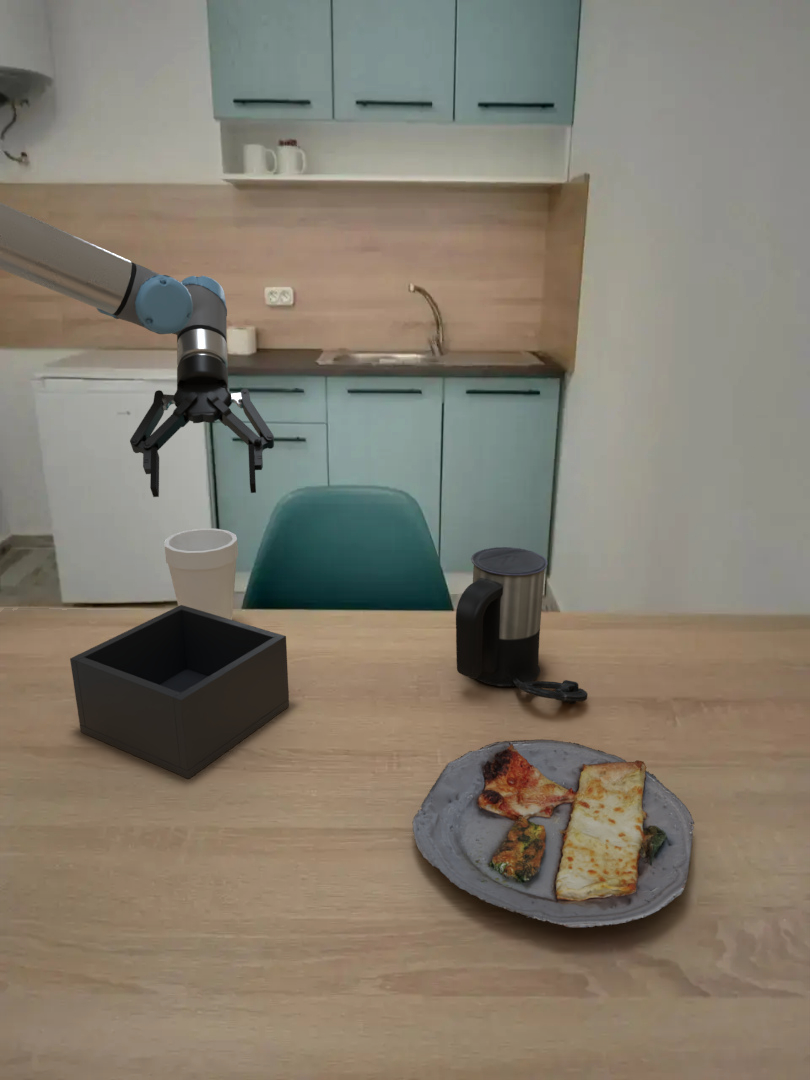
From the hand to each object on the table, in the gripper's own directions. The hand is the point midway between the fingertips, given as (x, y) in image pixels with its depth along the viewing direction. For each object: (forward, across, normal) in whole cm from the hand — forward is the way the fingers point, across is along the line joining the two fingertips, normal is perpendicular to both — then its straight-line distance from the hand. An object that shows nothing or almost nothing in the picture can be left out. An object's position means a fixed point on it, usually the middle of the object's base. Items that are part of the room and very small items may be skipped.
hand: (204, 490), depth 117 cm
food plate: (+53, -33, +29) cm, 69 cm away
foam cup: (+19, 0, -5) cm, 20 cm away
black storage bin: (+35, +1, +11) cm, 37 cm away
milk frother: (+34, -38, +10) cm, 52 cm away
